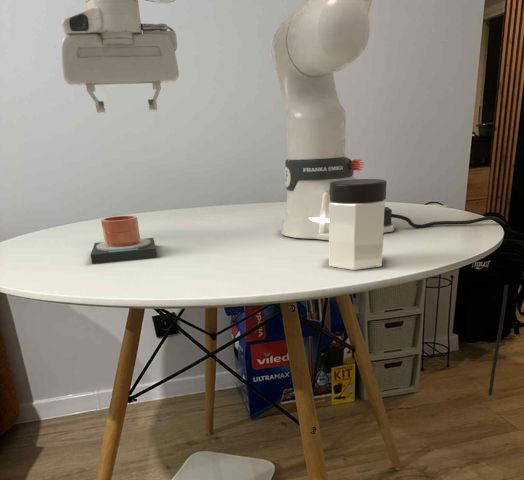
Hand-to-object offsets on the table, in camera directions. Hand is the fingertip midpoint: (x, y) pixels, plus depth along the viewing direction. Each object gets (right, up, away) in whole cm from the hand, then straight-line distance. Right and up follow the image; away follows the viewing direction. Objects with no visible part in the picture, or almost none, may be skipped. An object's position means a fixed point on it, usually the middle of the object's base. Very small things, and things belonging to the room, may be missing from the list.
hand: (127, 111), depth 93 cm
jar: (+39, -31, -16) cm, 53 cm away
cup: (0, -25, -2) cm, 25 cm away
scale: (0, -27, -1) cm, 27 cm away
